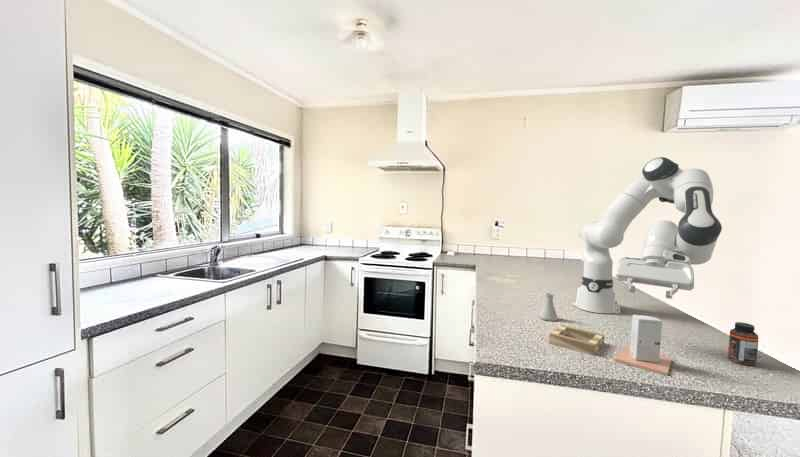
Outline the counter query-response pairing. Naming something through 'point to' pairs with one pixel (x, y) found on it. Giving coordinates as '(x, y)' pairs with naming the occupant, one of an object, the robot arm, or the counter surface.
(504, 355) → the counter surface
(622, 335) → the counter surface
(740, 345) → the supplement bottle
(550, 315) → the flask
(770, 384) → the counter surface
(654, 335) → the skincare box
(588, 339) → the light wooden square frame
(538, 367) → the counter surface
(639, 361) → the terracotta tile
